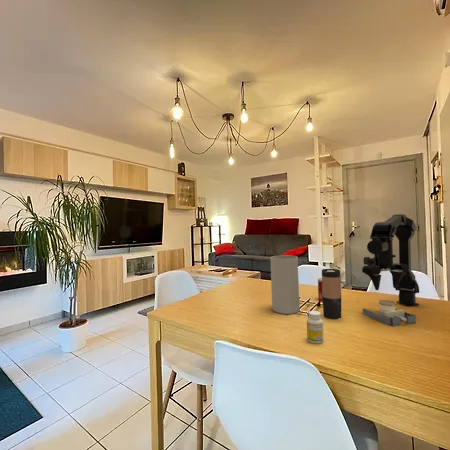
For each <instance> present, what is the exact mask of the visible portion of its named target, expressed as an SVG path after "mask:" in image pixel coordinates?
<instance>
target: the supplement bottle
mask: <svg viewBox="0 0 450 450" xmlns="http://www.w3.org/2000/svg"><path fill="white" fill-rule="evenodd" d="M321 315H322V314H321V312H320V311H318V310H309V311H308V317H307V318H306V337H307V341H308V342H310V343H312V344H322V343H323V342H324V322H323V319H322V317H321Z"/></svg>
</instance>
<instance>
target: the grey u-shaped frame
mask: <svg viewBox="0 0 450 450" xmlns="http://www.w3.org/2000/svg"><path fill="white" fill-rule="evenodd" d="M395 310H398V309H396V308H395ZM362 315H364V316H365V317H368V318H370V319H372V320H375V321H378V322H380V323H382V324H384V325H387V326H389V327H397V326H399V327H400V326H401V325H402V324H401V321H402V320H401V317H390V318H388V317H386V316H383V315H381V314H380V313H378V312H375V311H373V310H370V309H368V308H366V307H365V308H362ZM404 315H405V318H406V319H407V321H404V323H405V324H406V325H410V324H411V325H412V324H416V323H417V321H416V320H417V319H416V315H415V314H411V313H408V312H406V311H404Z"/></svg>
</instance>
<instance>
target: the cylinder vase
mask: <svg viewBox="0 0 450 450" xmlns="http://www.w3.org/2000/svg"><path fill="white" fill-rule="evenodd" d="M298 259H299V257H298V255H297V256H296V255H273V256H270V278H271V279H270V281H271V285H270V287H271V308H272V309H271V310H273V311H274V312H275V313H277V314H282V315H284V314H285V315H291V314H292V315H293V314H296V313H298V312H299V311H300V290H299V289H300V287H299V286H300V285H299V260H298Z"/></svg>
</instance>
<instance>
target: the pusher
mask: <svg viewBox="0 0 450 450" xmlns="http://www.w3.org/2000/svg"><path fill="white" fill-rule="evenodd" d="M404 312H405V310H404V309H397V310H394V311H387V312H384V316H386V317H388V318H390V317H401V321H404V322H405V321H407V319H406V318H405V315H404Z"/></svg>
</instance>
